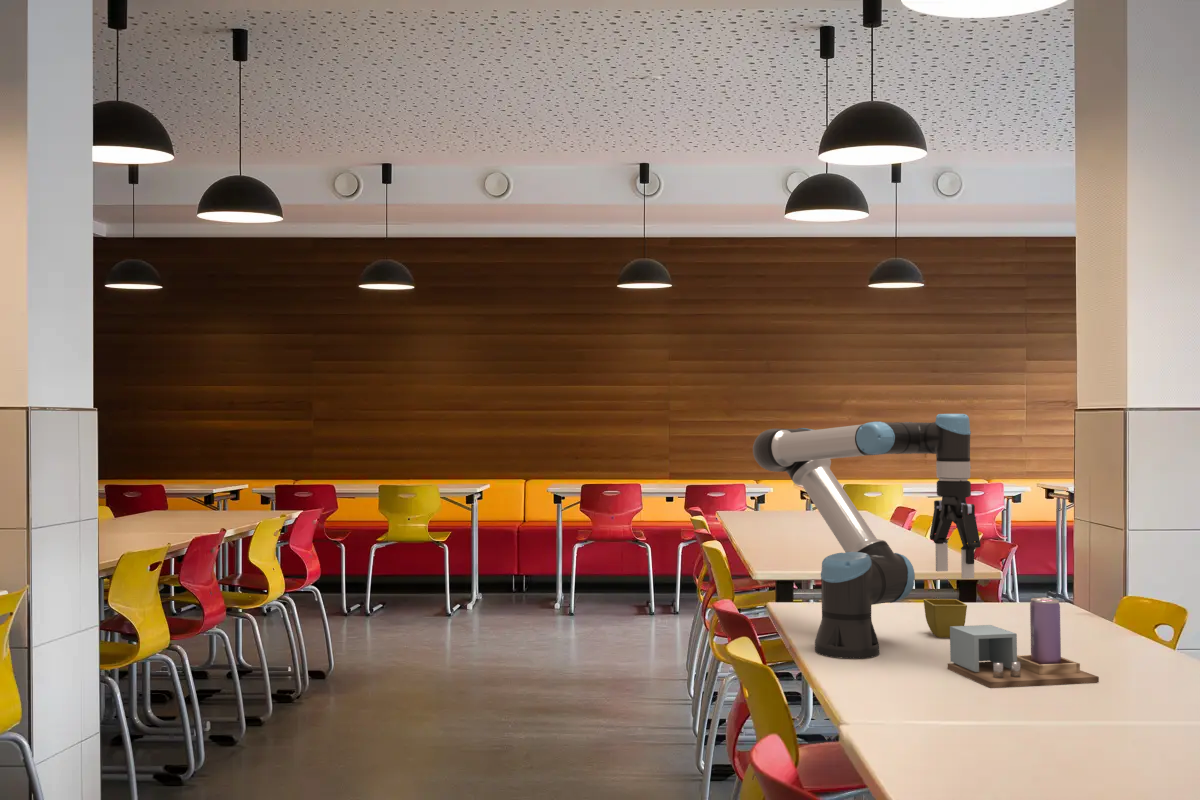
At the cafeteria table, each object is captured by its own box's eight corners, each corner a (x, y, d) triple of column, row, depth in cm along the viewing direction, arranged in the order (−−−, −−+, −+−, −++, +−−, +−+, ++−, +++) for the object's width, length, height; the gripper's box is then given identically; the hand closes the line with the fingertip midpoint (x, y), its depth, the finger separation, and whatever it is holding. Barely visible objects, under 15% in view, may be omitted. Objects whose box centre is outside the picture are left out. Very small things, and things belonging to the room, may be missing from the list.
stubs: (996, 678, 206) (996, 664, 207) (991, 676, 208) (991, 662, 208) (1022, 677, 207) (1022, 662, 208) (1017, 675, 209) (1016, 660, 210)
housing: (974, 671, 211) (974, 635, 211) (950, 661, 221) (949, 626, 221) (1017, 669, 213) (1016, 633, 213) (991, 659, 223) (990, 624, 223)
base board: (990, 688, 203) (990, 672, 204) (947, 668, 220) (947, 654, 220) (1098, 682, 208) (1098, 667, 208) (1048, 664, 224) (1048, 650, 225)
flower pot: (968, 640, 251) (967, 604, 252) (933, 640, 251) (933, 604, 252) (956, 633, 260) (956, 598, 260) (923, 633, 260) (922, 598, 261)
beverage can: (1064, 672, 211) (1063, 602, 212) (1034, 671, 213) (1033, 601, 213) (1057, 666, 217) (1056, 597, 218) (1028, 665, 218) (1027, 597, 219)
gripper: (996, 482, 219) (997, 581, 218) (942, 477, 242) (943, 567, 241) (965, 482, 217) (966, 582, 217) (914, 477, 240) (915, 568, 240)
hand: (954, 574), depth 229 cm, fingers open, 11 cm apart
